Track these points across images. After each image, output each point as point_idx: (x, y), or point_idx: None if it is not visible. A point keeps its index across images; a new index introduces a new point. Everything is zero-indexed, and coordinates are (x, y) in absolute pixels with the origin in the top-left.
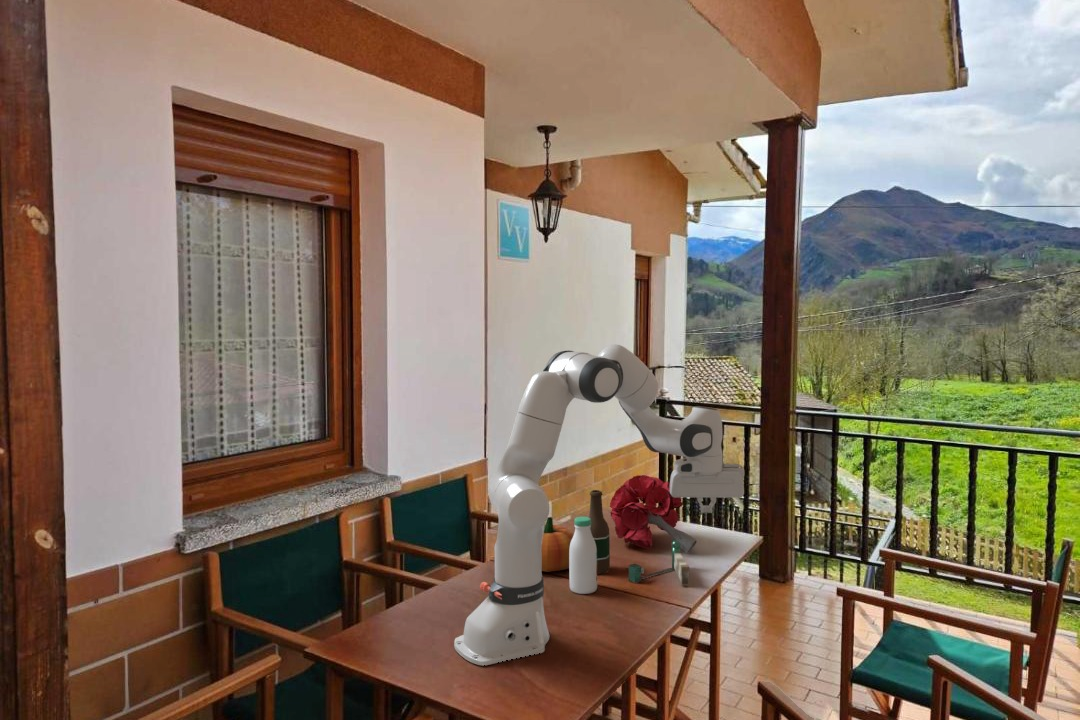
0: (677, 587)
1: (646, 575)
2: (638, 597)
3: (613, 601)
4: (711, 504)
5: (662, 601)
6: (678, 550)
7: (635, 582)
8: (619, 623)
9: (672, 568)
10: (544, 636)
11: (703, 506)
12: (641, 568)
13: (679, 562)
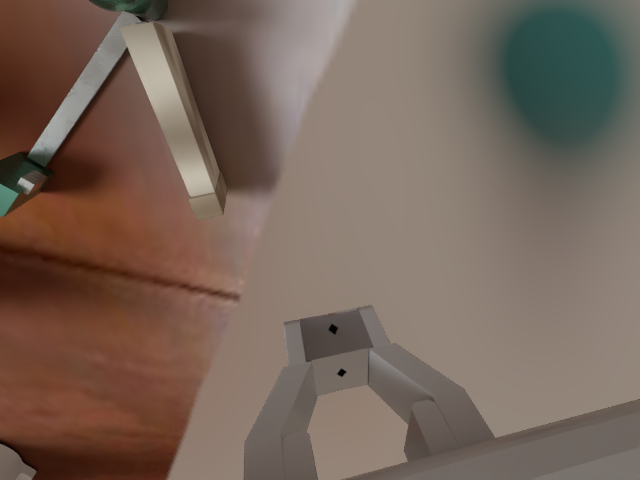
0: None
1: (52, 125)
2: (102, 279)
3: (46, 313)
4: (391, 406)
5: (172, 285)
6: (135, 4)
7: (41, 190)
8: (114, 382)
9: (134, 18)
10: (12, 477)
11: (312, 405)
12: (29, 192)
13: (177, 160)
